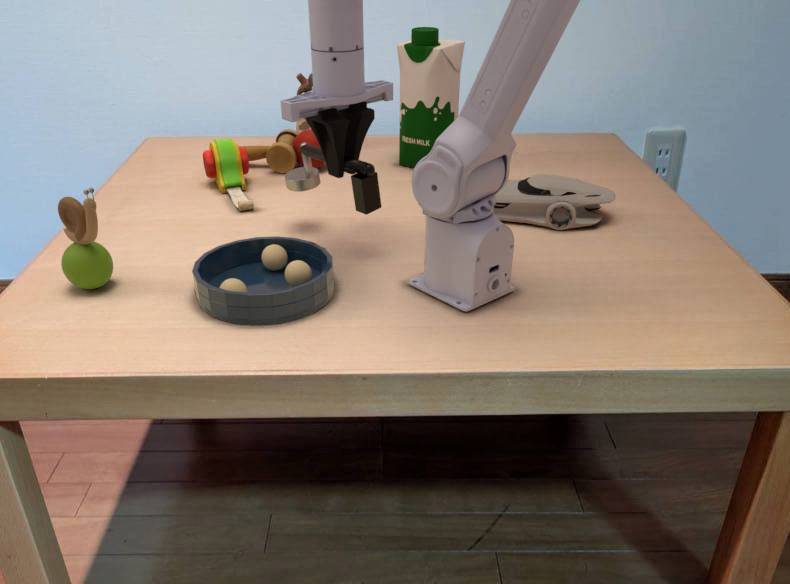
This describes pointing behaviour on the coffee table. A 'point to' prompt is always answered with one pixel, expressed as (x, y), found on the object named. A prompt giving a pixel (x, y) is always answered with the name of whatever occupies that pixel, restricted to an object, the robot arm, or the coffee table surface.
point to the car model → (551, 201)
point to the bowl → (262, 282)
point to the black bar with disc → (365, 174)
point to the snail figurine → (83, 244)
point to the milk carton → (427, 91)
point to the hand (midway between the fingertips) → (342, 173)
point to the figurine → (305, 87)
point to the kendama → (285, 150)
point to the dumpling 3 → (298, 273)
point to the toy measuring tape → (228, 170)
